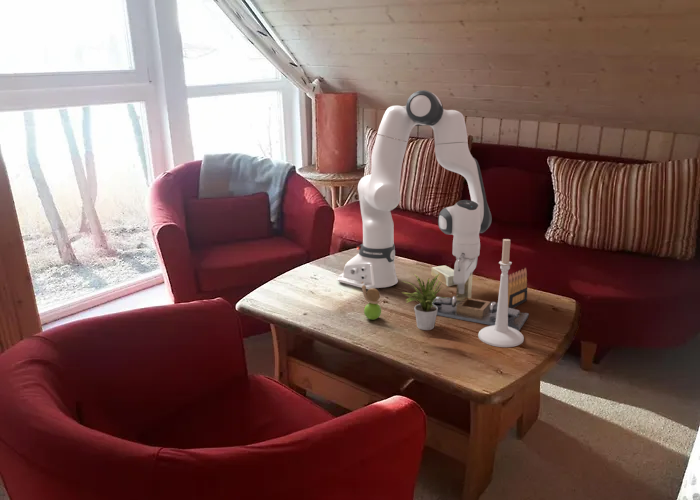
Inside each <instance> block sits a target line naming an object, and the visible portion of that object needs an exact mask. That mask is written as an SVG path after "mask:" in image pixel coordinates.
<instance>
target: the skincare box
mask: <svg viewBox="0 0 700 500" xmlns="http://www.w3.org/2000/svg"><path fill="white" fill-rule="evenodd" d="M430 271H431V273H430V275H431V276H432V277H434V278H435V276H437V275H438V274H440V275H439V276H438V278H437V281H438V280H439V279H440V280H439V282H442V283H443V284H444V285H446V286H447V287H451V286H457V284H454V281H453V277H454V268H451V267H449V266H447V265H446V264H445V265H438V266H434V267H431V270H430ZM442 283H441V284H442Z"/></svg>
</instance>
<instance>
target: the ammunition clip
mask: <svg viewBox="0 0 700 500" xmlns="http://www.w3.org/2000/svg"><path fill="white" fill-rule="evenodd" d="M527 277H528V273H527V267H524V269H523V268H521V270H520V269H519V270H518V271H517V270H516V272H512V273H509V274H508V308H512V309H516V307H518V306H520V305H521V304H524V303H525V302H527V300H528V287H527V286H528V283H527V282H528V279H527Z"/></svg>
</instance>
